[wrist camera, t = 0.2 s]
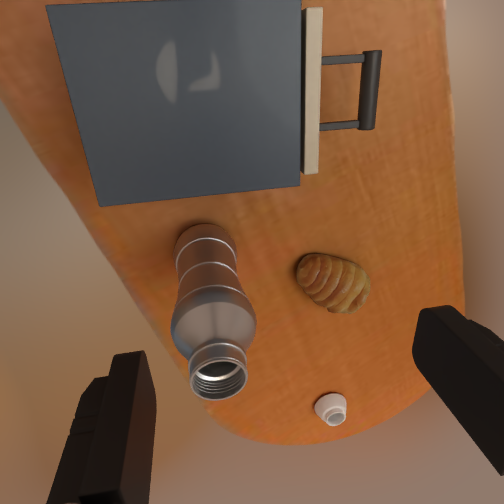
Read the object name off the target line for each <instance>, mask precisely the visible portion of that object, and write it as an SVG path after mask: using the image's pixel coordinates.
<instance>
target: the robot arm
mask: <svg viewBox="0 0 504 504" xmlns="http://www.w3.org/2000/svg"><path fill="white" fill-rule="evenodd" d="M412 354H413V359H414V362H415V364H416V366H417V368H418V369H419V371H420V372H421V373H422V375H423V376H424V377H425V379H426V380H427V381H428V382H429V384H430V385H431V386H432V388H433V389H434V390H435V392H436V393H437V394H438V395H439V397H440V398H441V399H442V400H443V402H444V403H445V404H446V406H447V407H448V408H449V409H450V411H451V412H452V414H453V415H454V416H455V417H456V418H457V420H458V421H459V423H460V424H461V425H462V426H463V428H464V429H465V430H466V432H467V433H468V434H469V436H470V437H471V438H472V439H473V441H474V442H475V443H476V445H477V446H478V447H479V448H480V450H481V451H482V452H483V453H484V455H485V456H486V458H487V459H488V460H489V461H490V463H491V464H492V465H493V467H494V468H495V469H496V470H497V472H498V473H499V474H500V476H503V475H504V341H503V340H501V339H500V338H499V337H498V336H497V335H496V334H495V333H493V332H492V331H491V330H490V329H488V328H486V327H484V326H482V325H480V324H478V323H476V322H474V321H472V320H467V319H466V318H465V317H464V316H463V315H462V314H461V313H460V312H458V311H457V310H456V309H455V308H454V307H452V306H450V305H444V306H437V307H431V308H424V309H422V310H421V311H420V313H419V317H418V322H417V327H416V332H415V337H414V342H413V346H412ZM155 423H156V394H155V389H154V385H153V381H152V377H151V373H150V369H149V365H148V361H147V357H146V354H145V352H144V351H143V350H142V351H136V352H129V353H122V354H116V355H114V357H113V360H112V364H111V368H110V372H109V375H108V376H105V377H99V378H94V380H93V381H92V382H91V384H90V385H89V386H88V388H87V389H86V390H85V391H84V393H83V394H82V395H81V398H80V401H79V404H78V407H77V410H76V413H75V419H73V422H72V426H71V429H70V435H69V436H68V438H67V441H66V444H65V448H64V450H63V453H62V457H61V460H60V463H59V466H58V469H57V472H56V475H55V479H54V482H53V485H52V488H51V491H50V494H49V497H48V500H47V503H46V504H148V503H149V492H150V481H151V469H152V458H153V446H154V434H155Z"/></svg>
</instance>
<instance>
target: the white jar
mask: <svg viewBox="0 0 504 504" xmlns="http://www.w3.org/2000/svg"><path fill="white" fill-rule="evenodd" d="M346 405H347V404H346V399H345V398H344V397H343V396H342V395H340V394H328V395H325V396H323V397H322V398H320V399H319V400H318V401H317V402H316V404H315V407H314V408H315V413H316V414H317V415H318V416H319V417H320V418H321V419H322V420H323V421H325V422H326V423H327V424H328V425H330V426H336V425H339V424H341V423H342V422H343V421H344V420H345V418H346Z"/></svg>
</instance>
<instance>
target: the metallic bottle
mask: <svg viewBox="0 0 504 504" xmlns="http://www.w3.org/2000/svg"><path fill="white" fill-rule="evenodd" d="M173 259H174V264H175V267H176V270H177V273H178V279H179V289H178V297H177V301H176V305H175V308H174V312H173V315H172V320H171V336H172V339H173V342H174V344H175V346H176V348H177V349H178V351H179V352H180V353H181V354H182V355H183V356H184V357H185V358H186V359H187V360H188V371H189V374H190V386H191V389H192V391H193V393H195V394H196V395H197V396H198V397H200V398H203V399H206V400H214V401H216V400H223V399H227V398H230V397H232V396H234V395H236V394H237V393H239V392H240V391H241V390H242V389H243V388H244V386H245V385H246V382H247V378H248V372H247V367H246V365H247V358H246V353H245V352H246V351H247V349H248V348H249V347H250V345H251V343H252V342H253V339H254V337H255V332H256V324H257V320H256V314H255V312H254V310H253V307H252V305H251V303H250V301H249V299H248V298H247V296H246V294H245V292H244V291H243V289H242V287H241V284H240V282H239V279H238V276H237V270H236V262H237V250H236V245H235V243H234V241H233V239H232V238H231V237H230V235H229V234H228V233H227V232H226V231H225V230H224V229H222V228H220V227H219V226H216V225H212V224H199V225H195V226H192V227H190V228H189V229H187V230H186V231H184V232H183V233H182V234H181V236H180V237H179V238H178V241H177V243H176V245H175V247H174V251H173Z"/></svg>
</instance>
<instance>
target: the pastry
mask: <svg viewBox="0 0 504 504" xmlns="http://www.w3.org/2000/svg"><path fill="white" fill-rule="evenodd" d="M297 282H298V283H299V285H300V286H301V287H302V288H303V290H304V292H305V293H306V294H308V295H309V296H310V297H311V298H312V299H313V301H314V302H315V303H316V304H318V305H320V306H323V307H326V308H327V310H328V311H329V312H331V313H348V314H351V313H354V312H356V311H357V310H358V309H359V308H360V307H361V306H362V305H363V304H364V303H365V301H366V298H367V296H368V295H369V292H370V278H369V276H368V275H367V274H366V273H365V272H364V270H363V269H362V268H361V267H360V266H359V265H356V264H354V263H352V262H350V261H346V260H344V259H341V258H337V257H333V256H328V255H324V254H309V255H307V256H305V257H304V258H303V259H302V260H301V262H300V263H299V265H298V268H297Z"/></svg>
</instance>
